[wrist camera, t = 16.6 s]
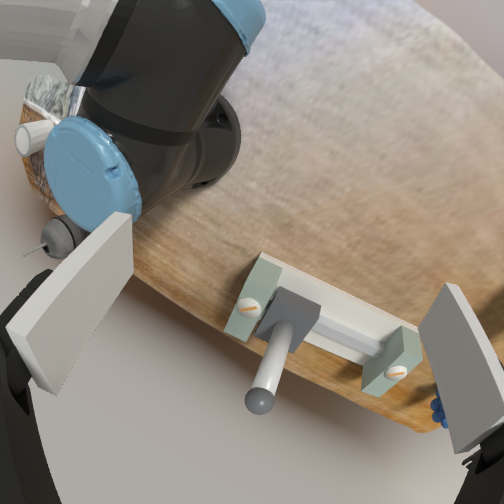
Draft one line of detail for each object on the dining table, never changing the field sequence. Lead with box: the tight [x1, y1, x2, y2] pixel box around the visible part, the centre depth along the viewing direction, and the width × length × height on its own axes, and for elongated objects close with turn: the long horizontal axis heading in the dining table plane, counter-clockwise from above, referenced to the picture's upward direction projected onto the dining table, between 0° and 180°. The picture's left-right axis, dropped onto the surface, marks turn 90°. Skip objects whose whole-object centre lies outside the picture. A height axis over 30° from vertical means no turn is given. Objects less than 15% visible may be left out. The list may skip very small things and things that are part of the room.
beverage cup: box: [23, 214, 91, 259], centre depth 46 cm, size 7×7×20 cm
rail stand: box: [224, 252, 423, 398], centre depth 47 cm, size 30×12×8 cm, turn 70°
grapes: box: [430, 389, 448, 428], centre depth 44 cm, size 12×7×12 cm, turn 152°
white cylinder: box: [15, 120, 54, 157], centre depth 46 cm, size 7×7×7 cm
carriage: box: [245, 286, 321, 415], centre depth 40 cm, size 7×9×18 cm
